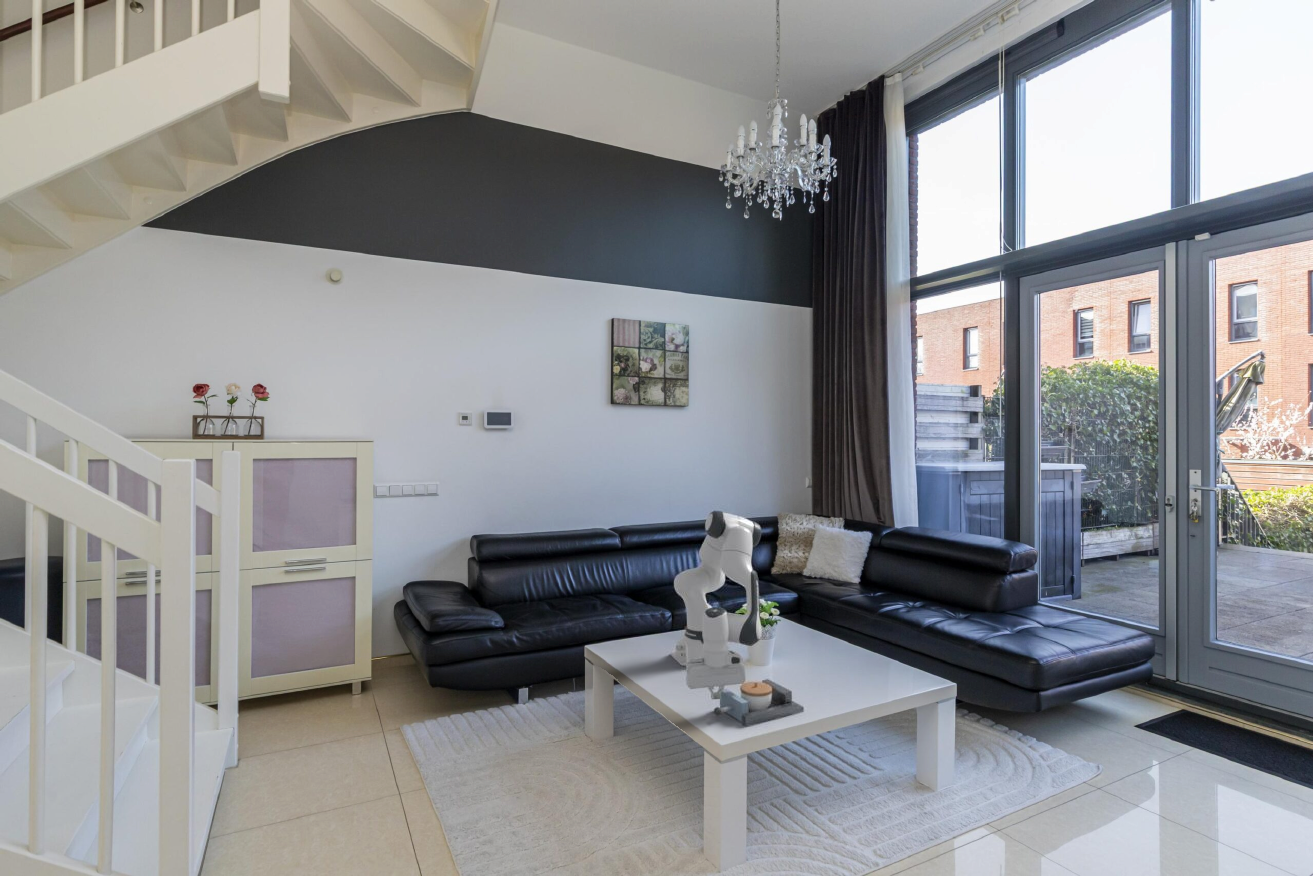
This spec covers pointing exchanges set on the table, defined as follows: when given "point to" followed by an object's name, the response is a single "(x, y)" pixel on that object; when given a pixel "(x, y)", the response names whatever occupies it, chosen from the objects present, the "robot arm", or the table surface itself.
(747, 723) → the vise body
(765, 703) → the lidded jar
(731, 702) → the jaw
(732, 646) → the table surface
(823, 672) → the table surface
